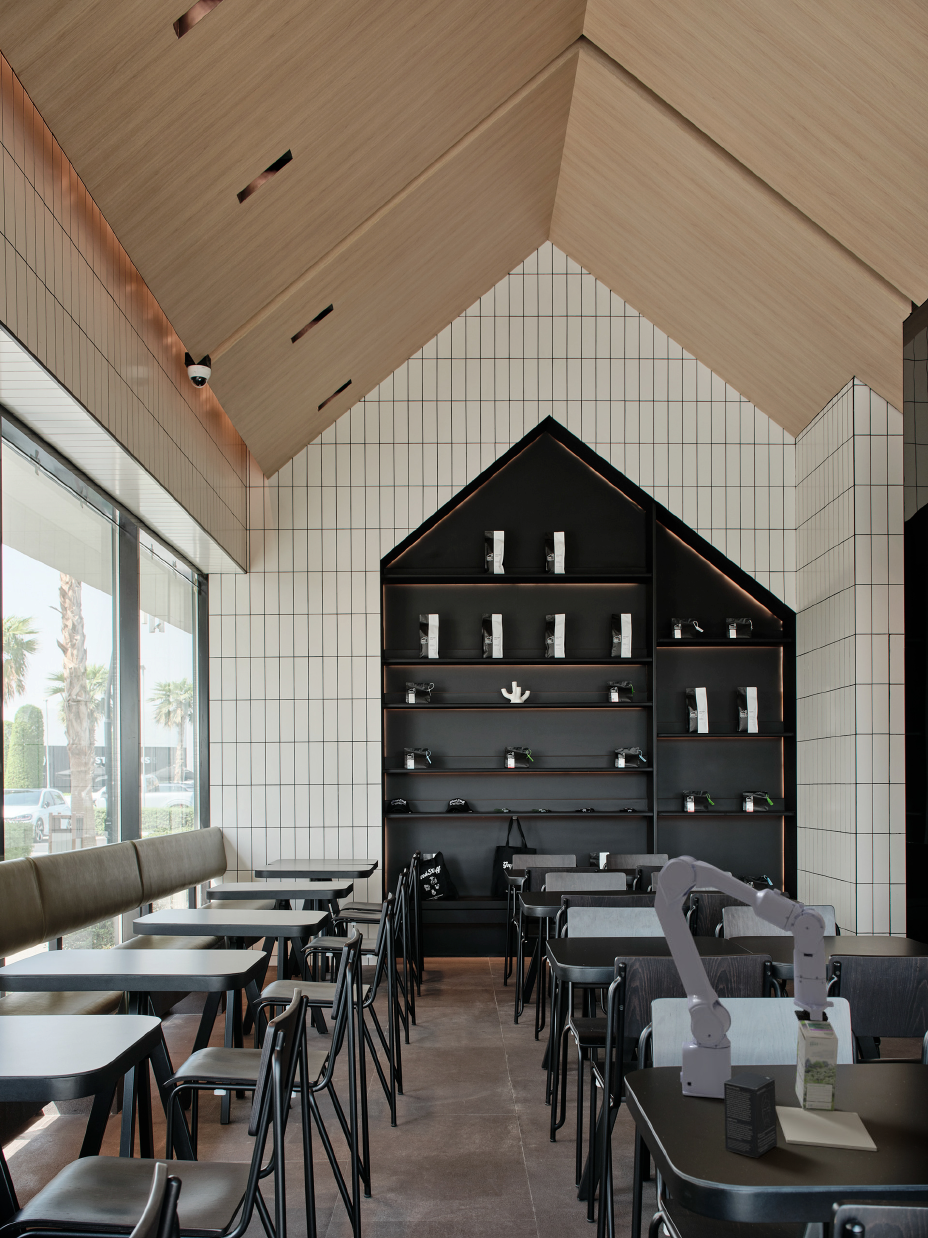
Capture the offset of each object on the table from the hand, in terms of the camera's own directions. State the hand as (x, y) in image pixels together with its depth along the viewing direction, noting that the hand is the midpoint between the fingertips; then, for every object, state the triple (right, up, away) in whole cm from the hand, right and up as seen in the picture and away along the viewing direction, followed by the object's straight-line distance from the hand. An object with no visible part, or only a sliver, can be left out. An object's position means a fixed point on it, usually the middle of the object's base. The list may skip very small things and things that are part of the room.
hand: (812, 1053), depth 187 cm
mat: (-3, -7, -13) cm, 15 cm away
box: (-18, -6, -23) cm, 30 cm away
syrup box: (0, -8, -3) cm, 8 cm away
